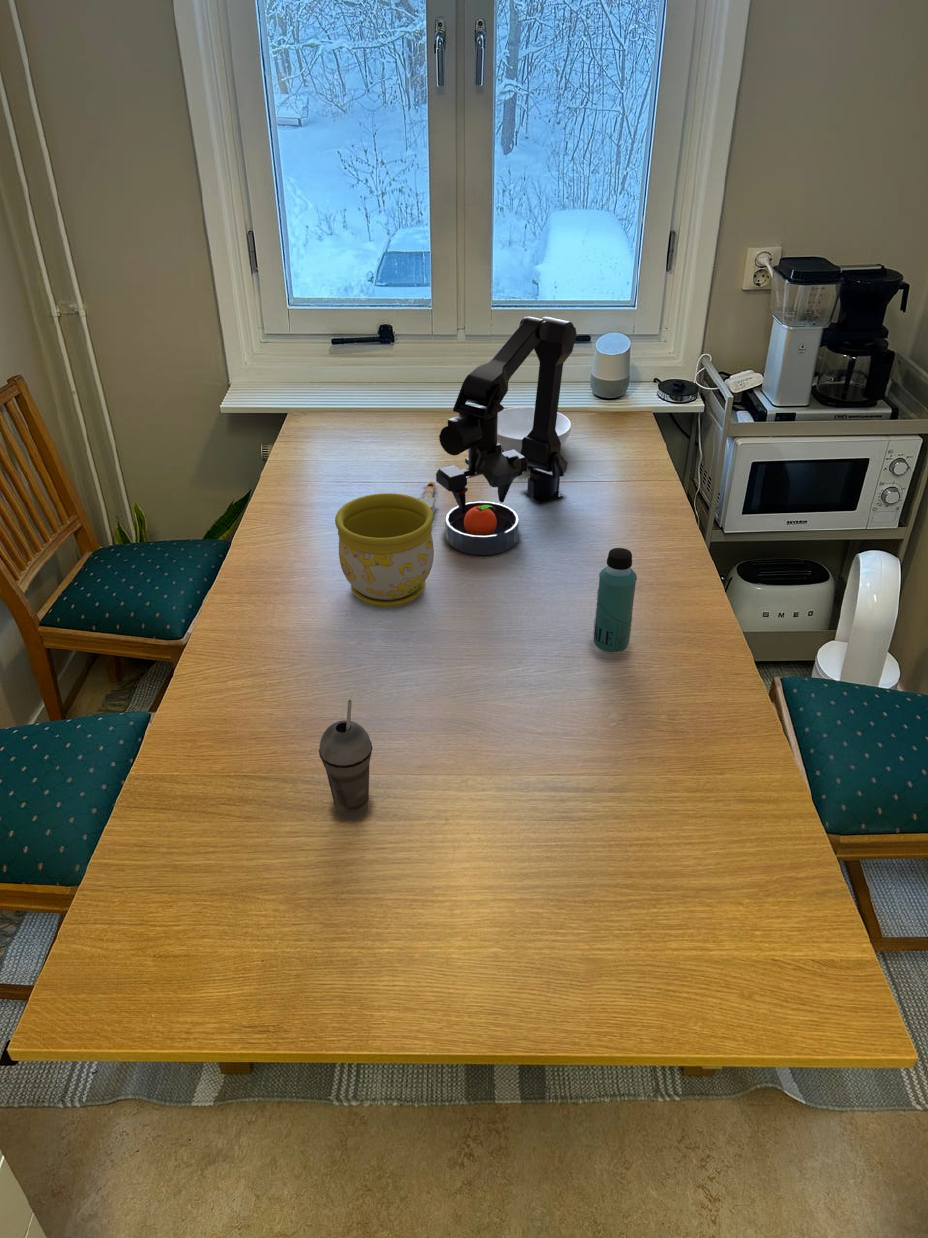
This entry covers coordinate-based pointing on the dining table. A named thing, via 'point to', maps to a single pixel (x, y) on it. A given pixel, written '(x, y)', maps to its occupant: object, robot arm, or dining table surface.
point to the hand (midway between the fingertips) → (482, 507)
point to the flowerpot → (386, 547)
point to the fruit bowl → (482, 545)
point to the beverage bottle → (615, 602)
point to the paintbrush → (429, 496)
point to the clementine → (480, 521)
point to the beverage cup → (347, 765)
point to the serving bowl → (524, 427)
